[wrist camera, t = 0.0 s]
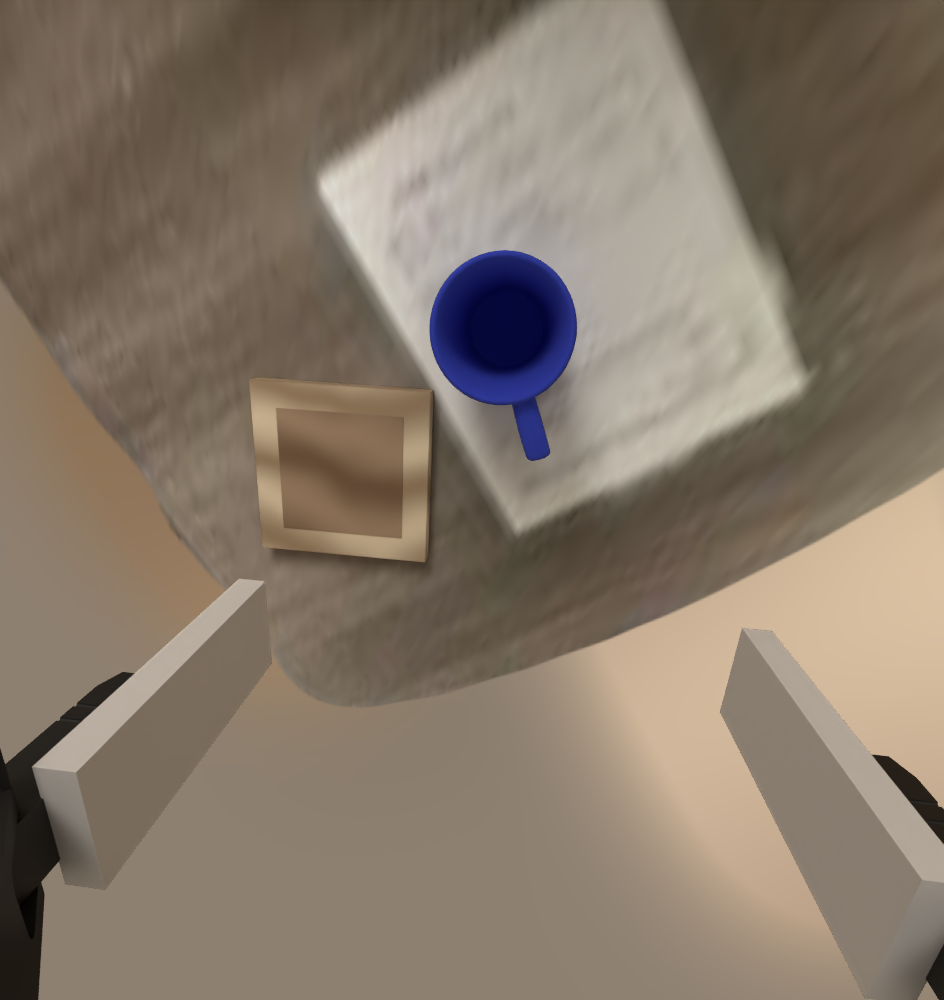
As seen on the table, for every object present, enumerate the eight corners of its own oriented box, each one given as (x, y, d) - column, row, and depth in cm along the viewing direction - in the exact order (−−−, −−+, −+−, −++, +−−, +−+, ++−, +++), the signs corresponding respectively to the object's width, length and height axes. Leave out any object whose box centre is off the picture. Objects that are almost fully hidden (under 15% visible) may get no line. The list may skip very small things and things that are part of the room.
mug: (486, 446, 41) (475, 483, 32) (436, 290, 38) (408, 280, 28) (588, 416, 40) (608, 445, 30) (546, 251, 36) (555, 226, 27)
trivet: (258, 377, 41) (248, 379, 40) (433, 390, 40) (430, 392, 39) (270, 540, 46) (262, 547, 44) (428, 554, 45) (425, 562, 43)
